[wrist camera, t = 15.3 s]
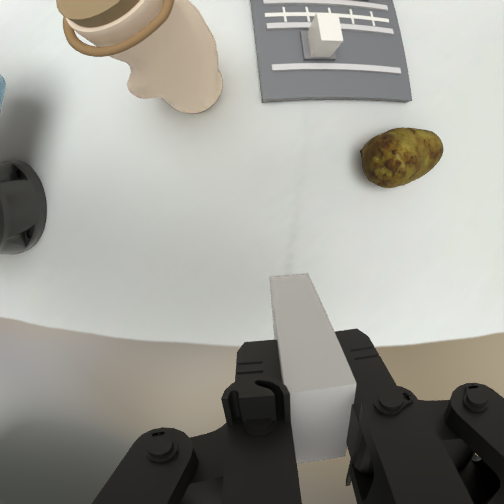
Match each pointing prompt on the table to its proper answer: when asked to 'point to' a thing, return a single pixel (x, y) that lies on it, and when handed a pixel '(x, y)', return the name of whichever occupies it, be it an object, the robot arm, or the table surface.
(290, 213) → the table surface
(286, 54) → the console
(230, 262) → the table surface
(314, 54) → the fader
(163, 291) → the table surface
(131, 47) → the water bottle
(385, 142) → the potato
